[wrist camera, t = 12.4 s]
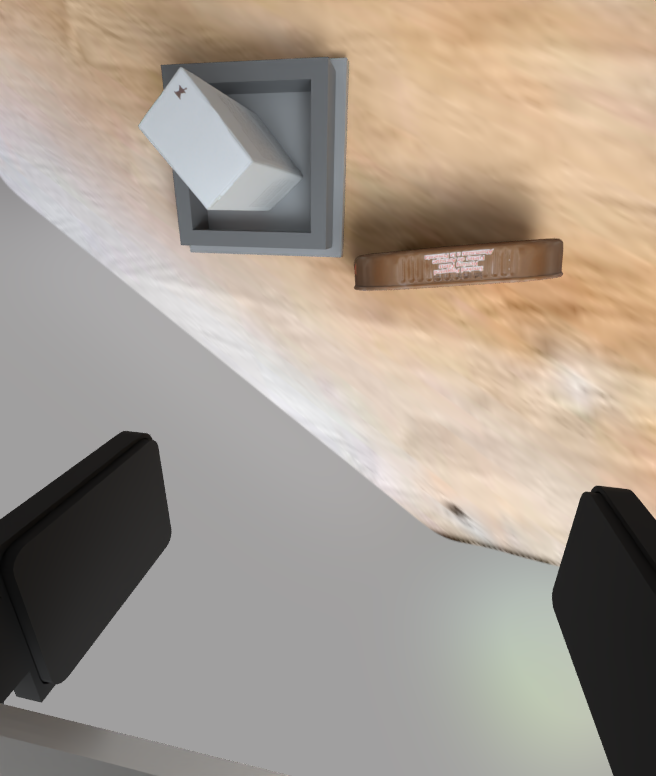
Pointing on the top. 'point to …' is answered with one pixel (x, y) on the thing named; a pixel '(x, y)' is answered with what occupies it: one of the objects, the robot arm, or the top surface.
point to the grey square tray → (299, 141)
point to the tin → (460, 265)
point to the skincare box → (218, 147)
